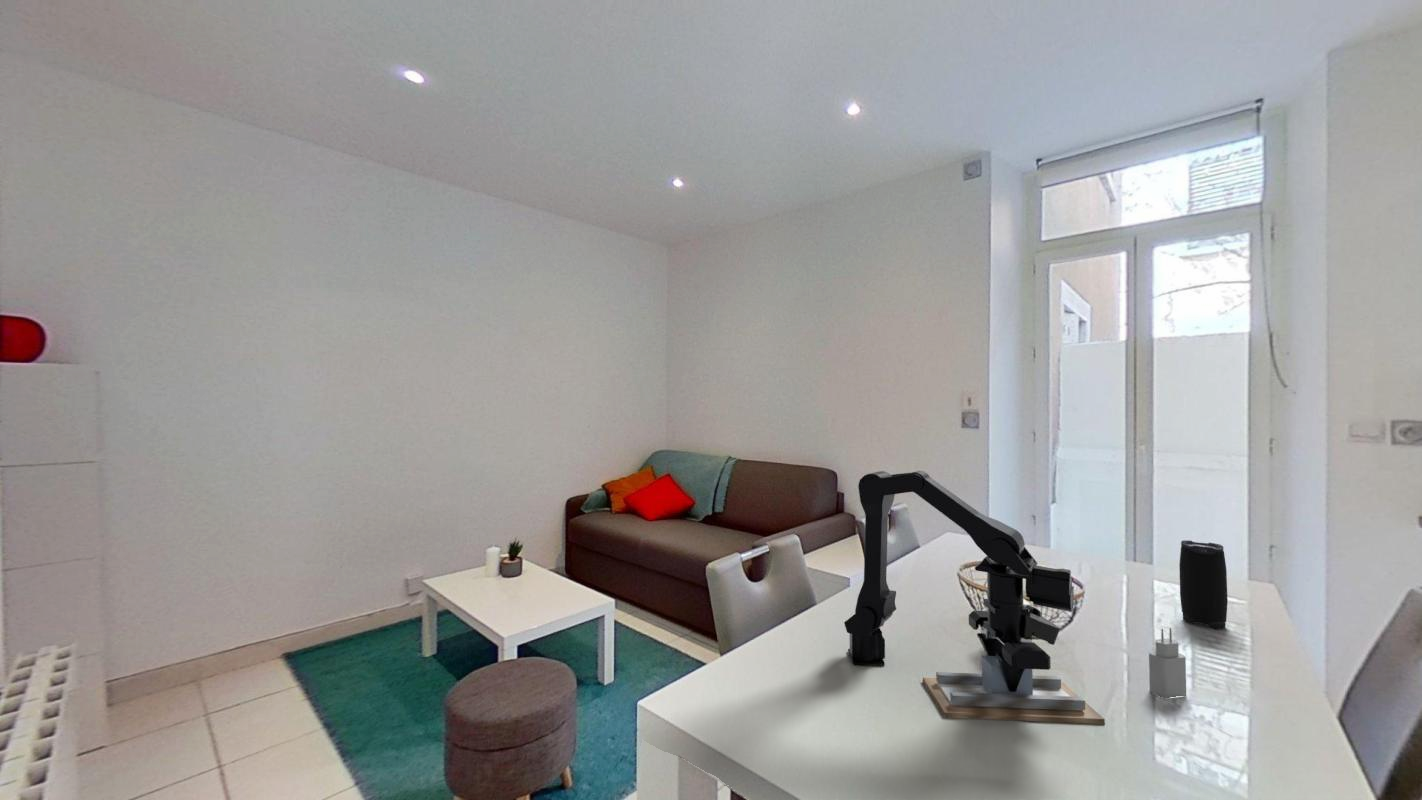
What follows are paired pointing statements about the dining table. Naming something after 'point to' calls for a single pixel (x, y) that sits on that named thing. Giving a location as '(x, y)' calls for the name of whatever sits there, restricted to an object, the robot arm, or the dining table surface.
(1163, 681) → the power adapter
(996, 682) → the block
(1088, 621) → the dining table surface
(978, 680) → the rail mount
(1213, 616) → the portable speaker
